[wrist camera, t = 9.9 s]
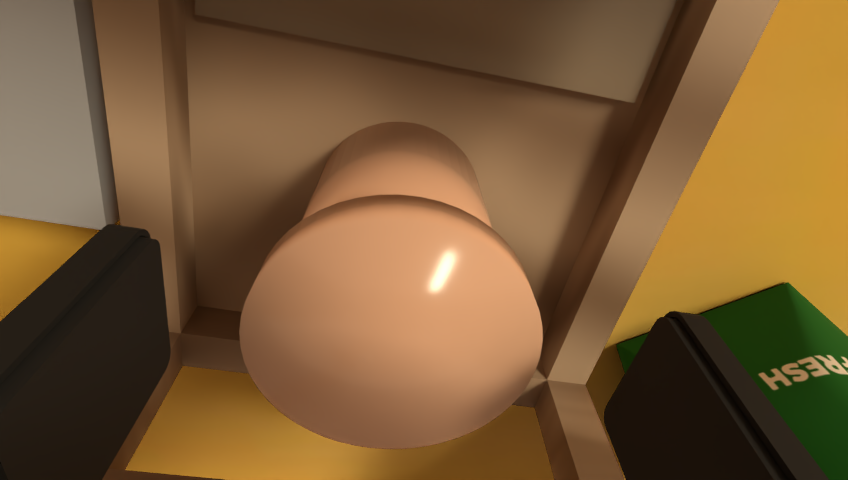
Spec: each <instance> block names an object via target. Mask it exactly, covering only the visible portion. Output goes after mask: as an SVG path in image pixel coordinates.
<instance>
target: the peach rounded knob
mask: <svg viewBox="0 0 848 480" xmlns="http://www.w3.org/2000/svg"><path fill="white" fill-rule="evenodd" d="M239 335H240V348H241V352H242V355H243V359H244V363H245V365H246V367H247V370H248V372H249V374H250V376H251V378H252V380H253V381H254V383H255V384H256V386H257V388H258V389H259V390H260V392H261V393H262V394H263V395H264V396H265V397H266V399H267V400H268V401H269V402H270V403H271V404H272V405H273V406H274V407H276V408H277V409H278V410H279V411H280V412H281V413H283V414H284V415H285V416H287V417H288V418H289V419H291V420H292V421H294V422H295V423H297V424H299V425H301V426H302V427H304V428H306V429H308V430H310V431H312V432H314V433H317V434H319V435H321V436H324V437H327V438H330V439H332V440H335V441H338V442H343V443H347V444H351V445H355V446H362V447H369V448H381V449H406V448H416V447H424V446H429V445H434V444H439V443H442V442H446V441H449V440H453V439H456V438H458V437H461V436H463V435H466V434H468V433H471V432H473V431H475V430H476V429H478V428H480V427H482V426H484V425H486V424H487V423H489V422H490V421H492V420H493V419H495V418H496V417H498V416H499V415H500V414H502V413H503V412H504V411H505V410H506V409H508V408H509V407H510V406H511V405H512V404H513V403H514V402H515V401H516V399H517V398H518V397H519V396H520V395H521V394H522V392H523V391H524V389H525V388H526V387H527V385H528V384H529V382H530V380H531V378H532V376H533V374H534V372H535V371H536V368H537V365H538V362H539V359H540V355H541V349H542V343H543V329H542V321H541V316H540V311H539V308H538V306H537V303H536V300H535V297H534V295H533V292H532V289H531V287H530V284H529V281H528V278H527V276H526V273H525V270H524V268H523V266H522V264H521V262H520V261H519V259H518V257H517V255H516V254H515V252H514V251H513V250H512V248H511V247H510V246H509V245H508V243H507V242H506V241H505V240H504V239H503V238H502V237H501V236H500V235H499V234H498V233H497V232H496V231H495V230H494V229H492V226H491V223H490V219H489V216H488V213H487V209H486V206H485V203H484V200H483V196H482V193H481V190H480V186H479V183H478V180H477V177H476V174H475V171H474V169H473V166H472V165H471V163H470V161H469V159H468V157H467V156H466V155H465V154H464V152H463V151H462V150H461V149H460V148H459V147H458V146H457V145H456V144H455V143H454V142H453V141H452V140H451V139H449V138H448V137H446V136H445V135H443V134H442V133H440V132H438V131H436V130H434V129H432V128H429V127H427V126H424V125H420V124H416V123H410V122H386V123H379V124H376V125H372V126H369V127H366V128H364V129H362V130H359V131H357V132H356V133H354V134H352V135H351V136H349V137H348V138H347V139H345V140H344V141H343V142H342V143H340V144H339V146H338V147H337V148H336V149H335V150H334V151H333V152H332V154H331V155H330V157H329V158H328V160H327V162H326V164H325V166H324V168H323V170H322V172H321V175H320V177H319V180H318V182H317V185H316V187H315V190H314V192H313V195H312V197H311V200H310V202H309V204H308V207H307V209H306V212H305V214H304V217H303V219H302V221H300V222H299V223H298V224H296V225H295V226H294V227H292V228H291V229H290V230H289V231H288V232H287V233H286V234H285V235H284V236H283V237H282V238H281V239H280V240H279V241H278V242H277V243H276V244H275V246H274V247H273V248H272V250H271V251H270V253H269V254H268V255H267V257H266V259H265V261H264V263H263V265H262V267H261V269H260V271H259V273H258V275H257V277H256V280H255V282H254V284H253V286H252V288H251V290H250V292H249V294H248V296H247V299H246V301H245V304H244V307H243V311H242V314H241V320H240V330H239Z"/></svg>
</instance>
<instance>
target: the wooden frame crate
mask: <svg viewBox="0 0 848 480" xmlns="http://www.w3.org/2000/svg"><path fill="white" fill-rule="evenodd" d="M778 2H779V0H92V5H93V13H94V21H95V29H96V37H97V45H98V52H99V60H100V68H101V76H102V84H103V91H104V99H105V107H106V115H107V123H108V130H109V138H110V146H111V154H112V162H113V169H114V177H115V185H116V193H117V201H118V209H119V216H120V224H121V225H122V226H128V227H134V228H141V229H145V230H147V231H148V232H149V234H150V237H151V239H156V240H158V241H159V243H160V248H161V258H162V268H163V278H164V288H165V298H166V308H167V318H168V328H169V338H170V347H171V354H170V360H169V364H168V366H167V369H166V371H165V373H164V374H163V376H162V378H161V379H160V381H159V383H158V385H157V386H156V388H155V390H154V391H153V393H152V395H151V397H150V398H149V400H148V402H147V403H146V405H145V407H144V409H143V410H142V412H141V414H140V415H139V417H138V419H137V421H136V422H135V424H134V426H133V427H132V429H131V431H130V433H129V434H128V436H127V438H126V439H125V441H124V443H123V445H122V446H121V448H120V450H119V451H118V453H117V455H116V457H115V458H114V460H113V462H112V463H111V465H110V467H109V469H108V470H107V472H106V474H105V475H104V477H103V479H102V480H223V479H212V478H202V477H191V476H180V475H170V474H159V473H148V472H137V471H127V470H125V469H126V467H127V465H128V463H129V462H130V460H131V458H132V456H133V454H134V453H135V451H136V449H137V447H138V445H139V444H140V442H141V440H142V438H143V436H144V435H145V433H146V431H147V429H148V427H149V426H150V424H151V422H152V420H153V418H154V416H155V415H156V413H157V411H158V409H159V407H160V406H161V404H162V402H163V400H164V398H165V397H166V395H167V393H168V391H169V389H170V388H171V386H172V384H173V382H174V380H175V379H176V377H177V375H178V373H179V371H180V370H181V368H182V366H190V367H199V368H207V369H215V370H224V371H232V372H241V373H249V372H248V370H247V367H246V365H245V363H244V359H243V355H242V352H241V348H240V335H239V330H240V320H241V314H242V311H243V307H244V304H245V301H246V299H247V296H248V294H249V292H250V290H251V288H252V286H253V284H254V282H255V280H256V277H257V275H258V273H259V271H260V269H261V267H262V265H263V263H264V261H265V259H266V257H267V255H268V254H269V253H270V251H271V250H272V248H273V247H274V246H275V244H276V243H277V242H278V241H279V240H280V239H281V238H282V237H283V236H284V235H285V234H286V233H287V232H288V231H289V230H290V229H291V228H292V227H294V226H295V225H296V224H298V223H299V222H300V221H302V219H303V217H304V214H305V212H306V209H307V207H308V204H309V202H310V200H311V197H312V195H313V192H314V190H315V187H316V185H317V182H318V180H319V177H320V175H321V172H322V170H323V168H324V166H325V164H326V162H327V160H328V158H329V157H330V155H331V154H332V152H333V151H334V150H335V149H336V148H337V147H338V146H339V144H340V143H342V142H343V141H344V140H345V139H347V138H348V137H349V136H351V135H352V134H354V133H356V132H357V131H359V130H362V129H364V128H366V127H369V126H372V125H376V124H379V123H386V122H410V123H416V124H420V125H424V126H427V127H429V128H432V129H434V130H436V131H438V132H440V133H442V134H443V135H445V136H446V137H448V138H449V139H451V140H452V141H453V142H454V143H455V144H456V145H457V146H458V147H459V148H460V149H461V150H462V151H463V152H464V154H465V155H466V156H467V157H468V159H469V161H470V163H471V165H472V166H473V169H474V171H475V174H476V177H477V180H478V183H479V186H480V190H481V193H482V196H483V200H484V203H485V206H486V209H487V213H488V216H489V219H490V223H491V226H492V229H494V230H495V231H496V232H497V233H498V234H499V235H500V236H501V237H502V238H503V239H504V240H505V241H506V242H507V243H508V245H509V246H510V247H511V248H512V250H513V251H514V252H515V254H516V255H517V257H518V259H519V261H520V262H521V264H522V266H523V268H524V270H525V273H526V276H527V278H528V281H529V284H530V287H531V289H532V292H533V295H534V297H535V300H536V303H537V306H538V308H539V311H540V316H541V321H542V329H543V343H542V349H541V355H540V359H539V362H538V365H537V368H536V371H535V372H534V374H533V376H532V378H531V380H530V382H529V384H528V385H527V387H526V388H525V389H524V391H523V392H522V394H521V395H520V396H519V397H518V398H517V399H516V401H515V402H514V403H513V404H512V405H517V406H526V407H534V408H535V410H536V414H537V418H538V421H539V425H540V428H541V432H542V436H543V439H544V443H545V446H546V450H547V454H548V457H549V461H550V464H551V468H552V472H553V475H554V479H555V480H624V478H623V475H622V473H621V470H620V468H619V465H618V463H617V460H616V458H615V456H614V453H613V451H612V448H611V446H610V443H609V441H608V439H607V436H606V434H605V431H604V429H603V426H602V424H601V422H600V419H599V417H598V414H597V412H596V409H595V407H594V404H593V402H592V400H591V397H590V395H589V392H588V390H587V387H586V385H585V384H586V382H587V380H588V379H589V377H590V375H591V373H592V371H593V369H594V367H595V365H596V363H597V361H598V359H599V357H600V355H601V353H602V351H603V349H604V347H605V345H606V343H607V341H608V339H609V337H610V335H611V333H612V331H613V329H614V327H615V325H616V323H617V321H618V319H619V317H620V315H621V313H622V311H623V309H624V307H625V305H626V303H627V301H628V299H629V297H630V295H631V293H632V291H633V289H634V287H635V285H636V283H637V281H638V279H639V277H640V275H641V273H642V272H643V270H644V268H645V266H646V264H647V262H648V260H649V258H650V256H651V254H652V252H653V250H654V248H655V246H656V244H657V242H658V240H659V238H660V236H661V234H662V232H663V230H664V228H665V226H666V224H667V222H668V220H669V218H670V216H671V214H672V212H673V210H674V208H675V206H676V204H677V202H678V200H679V198H680V196H681V194H682V192H683V190H684V188H685V186H686V184H687V182H688V180H689V178H690V176H691V174H692V172H693V170H694V168H695V166H696V165H697V163H698V161H699V159H700V157H701V155H702V153H703V151H704V149H705V147H706V145H707V143H708V141H709V139H710V137H711V135H712V133H713V131H714V129H715V127H716V125H717V123H718V121H719V119H720V117H721V115H722V113H723V111H724V109H725V107H726V105H727V103H728V101H729V99H730V97H731V95H732V93H733V91H734V89H735V87H736V85H737V83H738V81H739V79H740V77H741V75H742V73H743V71H744V69H745V67H746V65H747V63H748V61H749V59H750V57H751V56H752V54H753V52H754V50H755V48H756V46H757V44H758V42H759V40H760V38H761V36H762V34H763V32H764V30H765V28H766V26H767V24H768V22H769V20H770V18H771V16H772V14H773V12H774V10H775V8H776V6H777V4H778Z"/></svg>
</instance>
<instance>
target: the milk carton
mask: <svg viewBox="0 0 848 480" xmlns="http://www.w3.org/2000/svg"><path fill="white" fill-rule="evenodd" d="M699 315H701V316H703V317H705V318H706V319H707V320H708V321H709V322H710V324H711V325H712V326H713V328H714V329H715V330H716V332H717V333H718V334H719V336H720V337H721V338H722V340H723V341H724V342H725V343H726V345H727V346H728V347H729V349H730V350H731V351H732V353H733V354H734V355H735V357H736V358H737V359H738V361H739V362H740V363H741V364H742V366H743V367H744V368H745V370H746V371H747V372H748V374H749V375H750V376H751V378H752V379H753V380H754V382H755V383H756V384H757V386H758V387H759V388H760V389H761V391H762V392H763V393H764V395H765V396H766V397H767V399H768V400H769V401H770V403H771V404H772V405H773V407H774V408H775V409H776V410H777V412H778V413H779V414H780V416H781V417H782V418H783V420H784V421H785V422H786V424H787V425H788V426H789V428H790V429H791V430H792V431H793V433H794V434H795V435H796V437H797V438H798V439H799V441H800V442H801V443H802V445H803V446H804V447H805V449H806V450H807V451H808V453H809V454H810V455H811V456H812V458H813V459H814V460H815V462H816V463H817V464H818V466H819V467H820V468H821V470H822V471H823V472H824V474H825V475H826V476H827V477H828V479H829V480H848V336H847V335H846V334H844V333H843V332H842V331H841V330H840V329H839V328H838V327H837V326H836V325H834V324H833V323H832V322H831V321H830V320H829V319H828V318H827V317H826V316H824V315H823V314H822V313H821V312H820V311H819V310H818V309H817V308H816V307H815V306H813V305H812V304H811V303H810V302H809V301H808V300H807V299H806V298H805V297H804V296H802V295H801V294H800V293H799V292H798V291H797V290H796V289H795V288H794V287H793V286H792V285H791V284H789V283H788V282H787V283H785V284H782V285H779V286H776V287H774V288H771V289H768V290H765V291H763V292H760V293H757V294H754V295H752V296H749V297H746V298H743V299H741V300H738V301H735V302H732V303H730V304H727V305H724V306H721V307H719V308H716V309H713V310H710V311H708V312H705V313H702V314H699ZM648 334H649V333H647V334H644V335H642V336H639V337H636V338H634V339H631V340H628V341H625V342H623V343H620V344H617V345H616V347H617V350H618V353H619V356H620V359H621V362H622V365H623V369H624V372H625V373H626V371H627V370H628V368H629V366H630V365H631V363H632V361H633V359H634V358H635V356H636V354H637V353H638V351H639V349H640V347H641V346H642V344H643V342H644V341H645V339H646V337H647V335H648Z"/></svg>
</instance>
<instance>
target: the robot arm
mask: <svg viewBox="0 0 848 480" xmlns="http://www.w3.org/2000/svg"><path fill="white" fill-rule="evenodd" d="M170 354H171V347H170V338H169V328H168V318H167V308H166V298H165V288H164V278H163V268H162V258H161V248H160V243H159V241H158V240H156V239H151V237H150V234H149V232H148V231H147V230H145V229H141V228H134V227H128V226H122V225H115V224H108V225H106V226H105V227H103V228H102V229H101V230H100V231H99V232H98V233H97V234H96V235H95V236H94V237H92V238H91V239H90V240H89V241H88V242H87V243H86V244H85V245H84V246H83V247H82V248H80V249H79V250H78V251H77V252H76V253H75V254H74V255H73V256H72V257H71V258H70V259H68V260H67V261H66V262H65V263H64V264H63V265H62V266H61V267H60V268H59V269H58V270H57V271H55V272H54V273H53V274H52V275H51V276H50V277H49V278H48V279H47V280H46V281H45V282H43V283H42V284H41V285H40V286H39V287H38V288H37V289H36V290H35V291H34V292H33V293H31V294H30V295H29V296H28V297H27V298H26V299H25V300H23V301H22V302H21V303H20V304H19V305H18V306H17V307H16V308H15V309H14V310H12V311H11V312H10V313H9V314H8V315H7V316H6V317H5V318H4V319H3V320H2V321H0V480H102V479H103V477H104V475H105V474H106V472H107V470H108V469H109V467H110V465H111V463H112V462H113V460H114V458H115V457H116V455H117V453H118V451H119V450H120V448H121V446H122V445H123V443H124V441H125V439H126V438H127V436H128V434H129V433H130V431H131V429H132V427H133V426H134V424H135V422H136V421H137V419H138V417H139V415H140V414H141V412H142V410H143V409H144V407H145V405H146V403H147V402H148V400H149V398H150V397H151V395H152V393H153V391H154V390H155V388H156V386H157V385H158V383H159V381H160V379H161V378H162V376H163V374H164V373H165V371H166V369H167V366H168V364H169V360H170ZM604 422H605V426H606V429H607V431H608V434H609V436H610V439H611V442H612V444H613V447H614V449H615V452H616V455H617V457H618V460H619V462H620V465H621V467H622V470H623V473H624V475H625V478H626V480H829V479H828V477H827V476H826V475H825V474H824V472H823V471H822V470H821V468H820V467H819V466H818V464H817V463H816V462H815V460H814V459H813V458H812V456H811V455H810V454H809V453H808V451H807V450H806V449H805V447H804V446H803V445H802V443H801V442H800V441H799V439H798V438H797V437H796V435H795V434H794V433H793V431H792V430H791V429H790V428H789V426H788V425H787V424H786V422H785V421H784V420H783V418H782V417H781V416H780V414H779V413H778V412H777V410H776V409H775V408H774V407H773V405H772V404H771V403H770V401H769V400H768V399H767V397H766V396H765V395H764V393H763V392H762V391H761V389H760V388H759V387H758V386H757V384H756V383H755V382H754V380H753V379H752V378H751V376H750V375H749V374H748V372H747V371H746V370H745V368H744V367H743V366H742V364H741V363H740V362H739V361H738V359H737V358H736V357H735V355H734V354H733V353H732V351H731V350H730V349H729V347H728V346H727V345H726V343H725V342H724V341H723V340H722V338H721V337H720V336H719V334H718V333H717V332H716V330H715V329H714V328H713V326H712V325H711V324H710V322H709V321H708V320H707V319H706V318H705V317H703V316H701V315H695V314H689V313H683V312H676V311H672V312H669V313H667V314H666V315H665V316H664V317H660V318H659V319H657V321H656V322H655V324H654V325H653V327H652V329H651V330H650V332H649V334H648V335H647V337H646V339H645V341H644V342H643V344H642V346H641V347H640V349H639V351H638V353H637V354H636V356H635V358H634V359H633V361H632V363H631V365H630V366H629V368H628V370H627V371H626V373H625V375H624V377H623V378H622V380H621V382H620V383H619V385H618V387H617V388H616V390H615V392H614V394H613V395H612V397H611V399H610V400H609V402H608V404H607V406H606V408H605V412H604Z"/></svg>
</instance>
